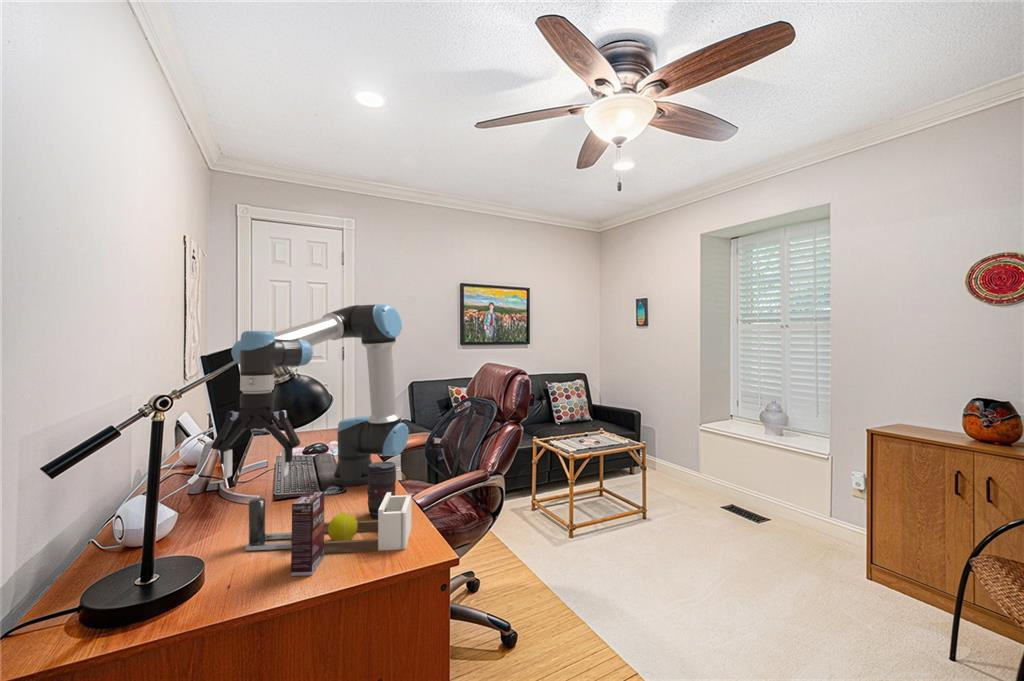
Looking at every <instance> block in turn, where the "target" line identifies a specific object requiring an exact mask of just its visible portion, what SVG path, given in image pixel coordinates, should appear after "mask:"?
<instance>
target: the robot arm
mask: <svg viewBox="0 0 1024 681" xmlns="http://www.w3.org/2000/svg"><path fill="white" fill-rule="evenodd" d="M402 324H403V323H402V318H401V315H400V313H399V311H398V310H396V308H395V307H394V306H392V305H390V304H384V303H383V304H382V303H378V304H377V303H376V304H357V305H350V306H349V305H348V306H347V307H344V308H343V307H342V308H339V309H337V310H334V311H332V312H327V313H325V314H324V315H323V316H322V317H321V318H318V319H315V320H312V321H309V322H305V323H302V324H299V325H296V326H292V327H289V328H285V329H282V330H279V331H276V332H273V331H271V330H269V331H268V330H245V331H243V332H242V333H241V334H240V339H239V340H238V341H236V342H234V343H233V346H232V347H231V353H230V354H231V357H232V359H233V361H234V362H235V363H236V362H238V363H239V364H238V363H237V364H238V365H239V368H240V369H239V370H240V372H239V373H240V375H239V379H240V380H239V391H241V393H240V395H239V411H236V410H231V411H227V412H225V418H224V422H223V423H222V425H221V427H220V429H219V431H218V433H217V435H216V437H215V438H214V441H213V443H212V445H211V449H212V450H217V451H219V456H220V457H219V458H220V459H219V463H220V465H223V479H228V478H230V477H232V476H233V449H231V446H232V445H233V444H235V442H236V441H237V440H238V439H239V438H240V436H241V435H242V434H243V433H244V432H245V431H246V430H254V429H256V430H263V429H265V430H266V432H267V431H268V432H269V433H270V434H271V436H273V438H274V439H275V440H276V441H277V442H278V443H279V444H280V446H282V447H283V449H282V450H281V454H280V455H281V462H280V463H281V464H280V468H281V471H280V475H281V476H280V477H283V478H284V477H286V476H287V475H289V463H291V462H292V461H293V449H294V448H296V447H298V446H300V445H301V441H300V438H299V437H298V435H297V432H296V431H295V429H294V427H293V426H292V423H291V422H290V419H289V417H288V411H287V410H286V409H283V410H280V411H275V409H274V406H275V404H274V403H275V393H274V392H273V390H274V389H275V368H283V367H284V368H286V367H287V368H289V367H295V368H296V367H297V368H299V367H301V366H302V367H303V366H306V365H308V364H309V363H310V362H311V361H312V358H313V354H314V353H313V346H315V345H318V344H320V343H323V342H326V341H328V340H331V341H337V340H340V339H346V338H352V339H353V338H357V339H358V338H359V339H360V340H361V341H360V342H361V346H363V347H365V349H366V359H367V360H366V361H367V372H368V373H367V374H368V385H369V386H368V388H369V398H370V399H369V400H370V410H371V411H370V413H371V414H370V415H369V416H368V415H366V416H365V415H364V416H356V417H349V418H345V419H342V420H340V421H339V422H338V425H337V431H336V432H337V462H336V465H335V468H334V471H333V475H332V483H333V482H334V483H335V484H334V483H333V484H334V485H336V484H339V485H338V486H340V485H342V486H343V487H352V486H361V485H365V484H368V469H369V465H370V464H371V463H373V460H372V455H377V456H378V455H379V456H384V457H388V456H391V457H392V456H393V457H396V456H398V455H401V453H402V452H403V451H404V449H406V446H407V444H408V441H409V437H410V436H409V434H410V430H409V427H408V426H407V424H406V423H404V422H402V416H401V414H399V413H398V412H397V406H396V405H397V404H396V390H395V378H394V377H395V376H394V362H393V361H394V360H393V359H394V358H393V346H394V345H395V343H396V338H397V337H398V336H400V334H401V330H402V326H403V325H402ZM275 417H276V419H277V420H279V423H280V425H281V427H282V429H283V431H284V433H285V434H284V433H283V432H282V430H280V428H279V427H278V426H277V424H276V422H275V421H274V419H275ZM237 419H239V420H240V421H241V423H239V425H238V426H237V427H236V429H235V430H234V431H233V432H232V433H231V434H230V435H229V437H228V438H227V436H228V434H229V432H230V430H231V429H232V428H233V427H232V426H233V425H234V422H235V421H237ZM226 438H227V439H226ZM225 439H226V440H225ZM342 486H341V487H342Z"/></svg>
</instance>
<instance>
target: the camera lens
mask: <svg viewBox="0 0 1024 681" xmlns="http://www.w3.org/2000/svg"><path fill="white" fill-rule="evenodd" d="M396 481H397V467H396V463H395V462H392V461H376V462H372V463H371V464H370V465H369V469H368V483H367V485H368V487H367V490H366V491H367V492H366V494H367V508H368V512H369V517H370V518H372V519H374V520H375V519H376V520H378V509H379V507H380V505H381V503H382V501H383V499H384V497H385V495H386V493H387V492H391V496H397V494H396V483H397V482H396ZM384 512H386V509H385V511H384Z"/></svg>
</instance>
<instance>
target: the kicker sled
mask: <svg viewBox="0 0 1024 681" xmlns="http://www.w3.org/2000/svg"><path fill="white" fill-rule="evenodd" d="M285 539H292V532H281V533H280V532H277V533H266V498H264V497H256V498H254V499H253V498H252V499H250V500H249V501H248V543H247V544H246V546H245V551H263V550H264V551H265V550H267V551H269V550H286V549H291V545H292V541H290V542H269V543H267V542H266V540H285Z"/></svg>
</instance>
